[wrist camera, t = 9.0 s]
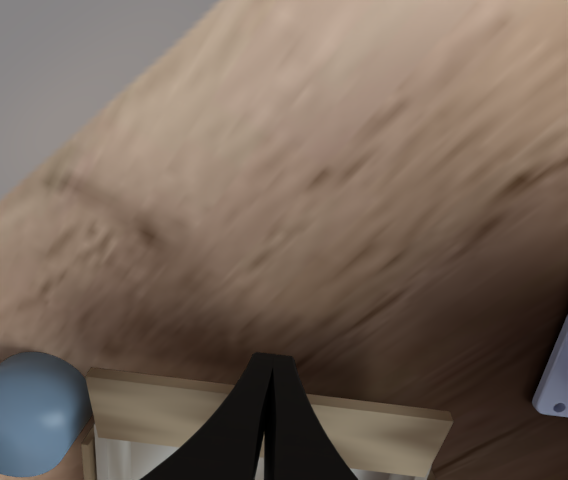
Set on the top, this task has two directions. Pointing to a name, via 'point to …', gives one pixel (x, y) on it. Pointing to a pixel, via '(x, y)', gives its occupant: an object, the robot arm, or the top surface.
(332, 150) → the top surface
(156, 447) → the carton
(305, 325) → the top surface
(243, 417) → the robot arm
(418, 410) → the flap
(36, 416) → the blue pebble
